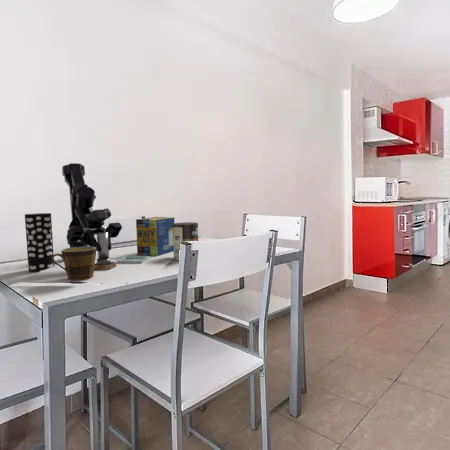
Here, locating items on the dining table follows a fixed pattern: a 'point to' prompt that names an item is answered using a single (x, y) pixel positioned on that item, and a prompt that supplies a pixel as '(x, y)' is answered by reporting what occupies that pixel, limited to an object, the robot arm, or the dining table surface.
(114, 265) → the socket block
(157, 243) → the protein box
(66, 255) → the ceramic cup
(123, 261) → the tray
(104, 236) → the grey cylinder
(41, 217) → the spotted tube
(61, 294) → the dining table surface
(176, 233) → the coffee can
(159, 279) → the dining table surface
